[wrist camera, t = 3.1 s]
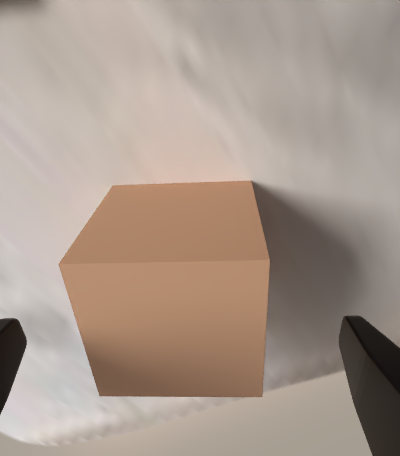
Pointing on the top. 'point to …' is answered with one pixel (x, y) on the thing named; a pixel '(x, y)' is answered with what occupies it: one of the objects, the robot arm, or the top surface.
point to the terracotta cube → (172, 290)
